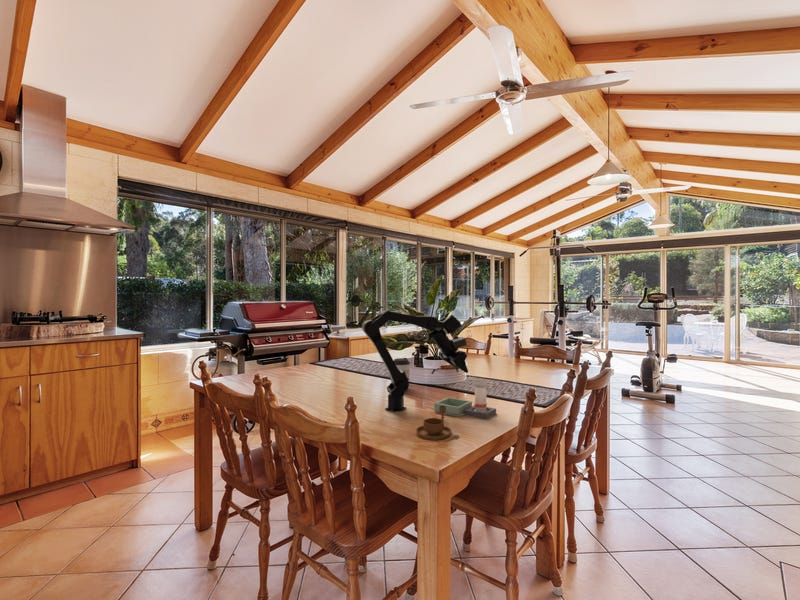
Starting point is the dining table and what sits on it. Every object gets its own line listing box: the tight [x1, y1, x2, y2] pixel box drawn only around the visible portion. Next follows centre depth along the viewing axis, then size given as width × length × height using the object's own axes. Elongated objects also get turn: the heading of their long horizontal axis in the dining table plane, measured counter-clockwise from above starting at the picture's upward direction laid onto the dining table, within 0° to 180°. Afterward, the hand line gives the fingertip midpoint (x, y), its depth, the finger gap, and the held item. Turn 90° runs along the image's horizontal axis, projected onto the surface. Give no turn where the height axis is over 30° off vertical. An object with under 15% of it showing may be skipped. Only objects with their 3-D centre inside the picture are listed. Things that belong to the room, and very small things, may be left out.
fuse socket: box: [464, 404, 497, 420], centre depth 157 cm, size 9×9×2 cm
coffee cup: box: [393, 357, 411, 382], centre depth 200 cm, size 9×9×15 cm
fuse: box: [473, 379, 488, 412], centre depth 156 cm, size 5×5×13 cm
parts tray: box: [433, 397, 473, 418], centre depth 162 cm, size 11×11×4 cm
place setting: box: [415, 405, 460, 443], centre depth 139 cm, size 18×20×6 cm
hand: (462, 370), depth 171 cm, fingers open, 9 cm apart
